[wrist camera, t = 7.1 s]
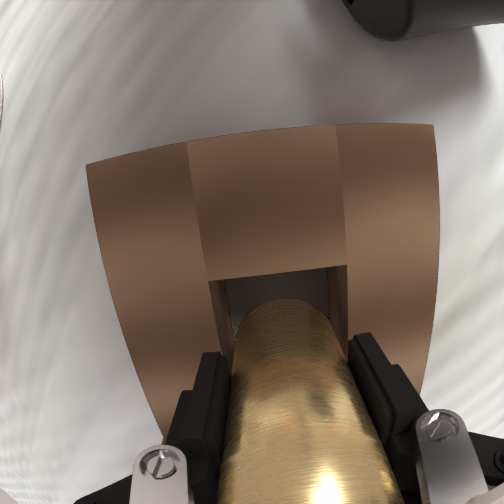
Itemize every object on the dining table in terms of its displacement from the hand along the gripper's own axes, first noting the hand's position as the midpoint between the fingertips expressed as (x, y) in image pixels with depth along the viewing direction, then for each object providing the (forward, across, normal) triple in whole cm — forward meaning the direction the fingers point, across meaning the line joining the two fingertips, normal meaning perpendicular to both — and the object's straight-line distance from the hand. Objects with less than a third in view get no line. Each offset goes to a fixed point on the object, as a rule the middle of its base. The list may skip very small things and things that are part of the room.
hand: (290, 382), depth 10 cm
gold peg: (+3, 0, 0) cm, 3 cm away
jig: (+7, 0, 0) cm, 7 cm away
